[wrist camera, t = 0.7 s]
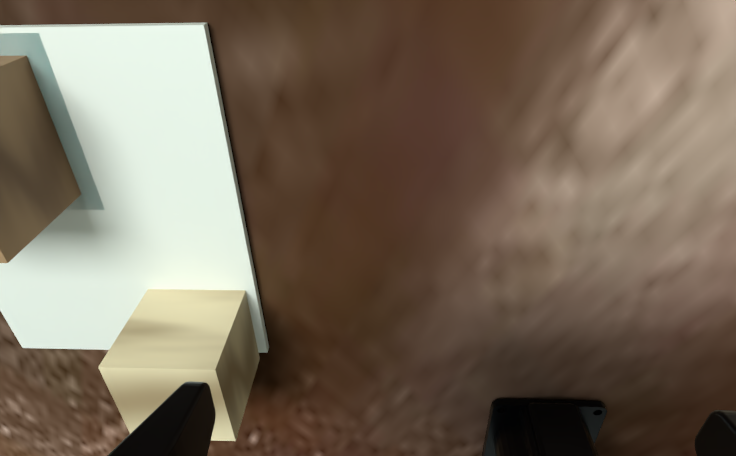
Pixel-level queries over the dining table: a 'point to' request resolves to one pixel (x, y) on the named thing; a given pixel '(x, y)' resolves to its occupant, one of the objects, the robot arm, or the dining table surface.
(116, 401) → the maple cube
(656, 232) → the dining table surface
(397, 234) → the dining table surface
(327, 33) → the dining table surface
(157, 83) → the white board
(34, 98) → the walnut block
